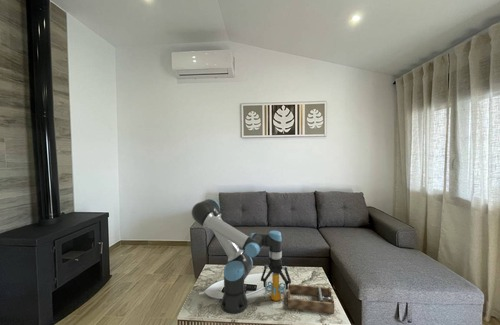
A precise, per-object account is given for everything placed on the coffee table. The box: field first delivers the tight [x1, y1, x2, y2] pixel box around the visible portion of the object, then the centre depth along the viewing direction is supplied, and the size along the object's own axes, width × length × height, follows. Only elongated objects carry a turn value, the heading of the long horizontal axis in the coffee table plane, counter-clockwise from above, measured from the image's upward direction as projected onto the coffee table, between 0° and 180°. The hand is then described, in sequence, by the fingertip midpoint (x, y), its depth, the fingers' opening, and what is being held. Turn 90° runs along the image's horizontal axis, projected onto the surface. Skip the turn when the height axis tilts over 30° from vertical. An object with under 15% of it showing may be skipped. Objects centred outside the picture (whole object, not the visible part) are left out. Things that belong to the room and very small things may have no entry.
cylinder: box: [266, 272, 285, 302], centre depth 139 cm, size 12×10×15 cm
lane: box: [287, 283, 335, 314], centre depth 136 cm, size 25×16×6 cm, turn 79°
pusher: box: [317, 286, 331, 302], centre depth 134 cm, size 8×13×6 cm, turn 169°
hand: (275, 293), depth 139 cm, fingers closed on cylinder, 11 cm apart
